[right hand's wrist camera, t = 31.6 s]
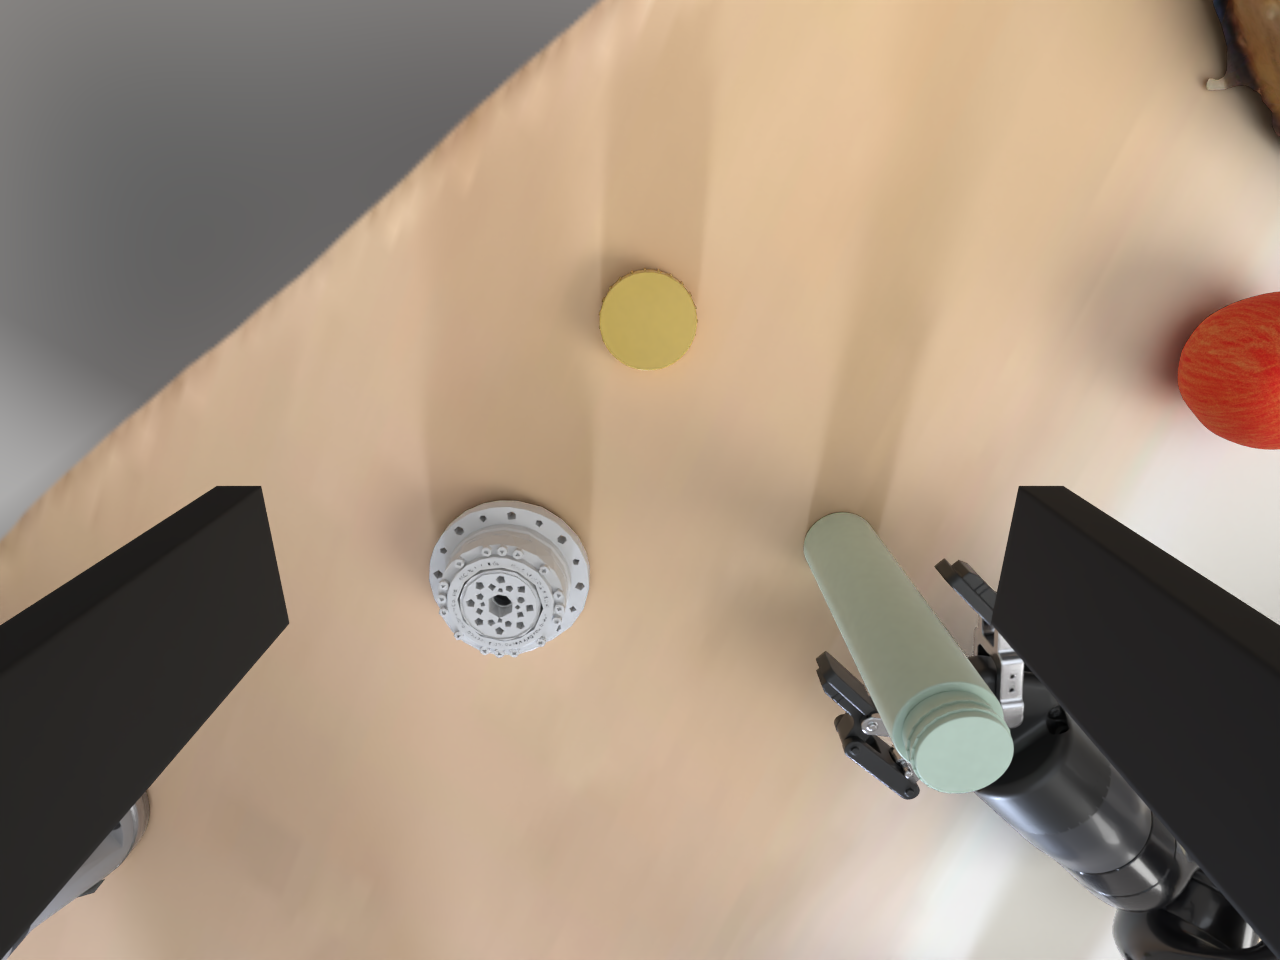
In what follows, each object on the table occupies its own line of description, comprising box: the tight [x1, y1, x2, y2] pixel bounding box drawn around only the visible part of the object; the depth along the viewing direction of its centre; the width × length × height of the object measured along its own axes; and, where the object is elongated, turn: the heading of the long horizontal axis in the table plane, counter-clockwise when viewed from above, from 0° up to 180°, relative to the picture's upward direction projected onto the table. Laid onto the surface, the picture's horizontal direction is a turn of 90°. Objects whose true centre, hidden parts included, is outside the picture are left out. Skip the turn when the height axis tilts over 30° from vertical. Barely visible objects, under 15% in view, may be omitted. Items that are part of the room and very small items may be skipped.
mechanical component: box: [429, 500, 590, 658], centre depth 43 cm, size 10×4×10 cm
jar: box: [804, 512, 1014, 793], centre depth 36 cm, size 4×4×19 cm
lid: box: [599, 268, 698, 371], centre depth 39 cm, size 5×5×2 cm
